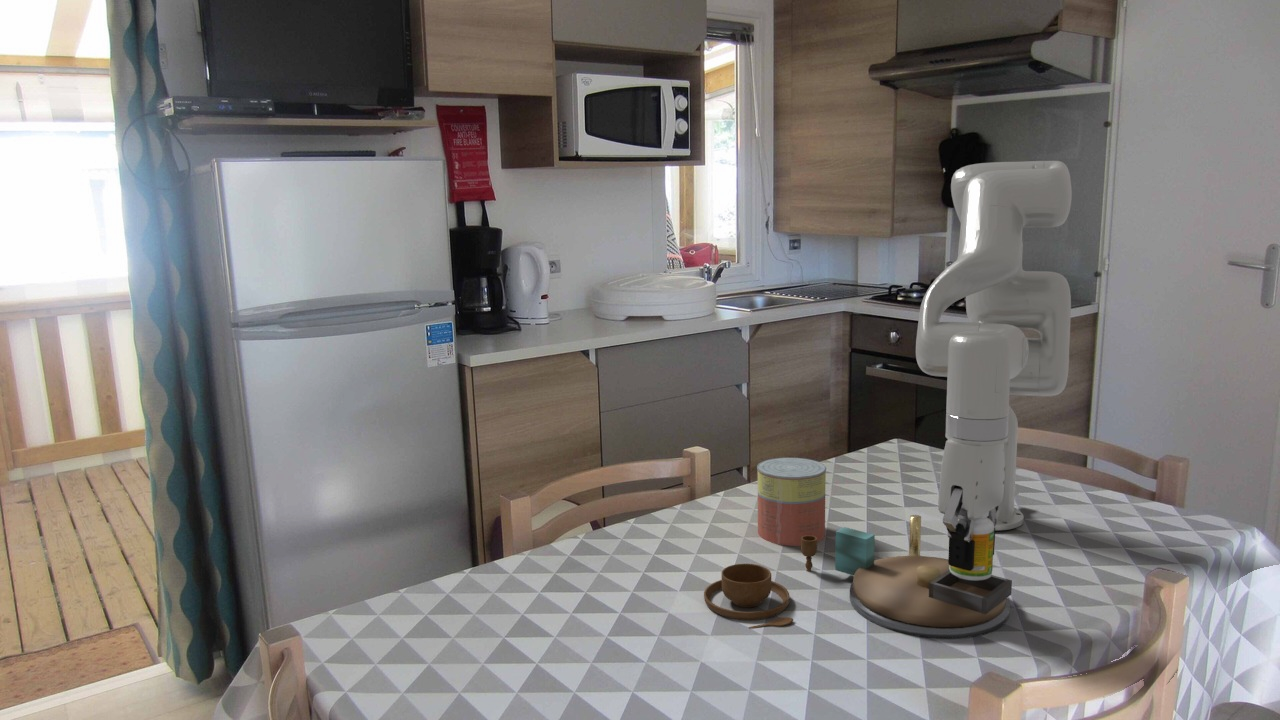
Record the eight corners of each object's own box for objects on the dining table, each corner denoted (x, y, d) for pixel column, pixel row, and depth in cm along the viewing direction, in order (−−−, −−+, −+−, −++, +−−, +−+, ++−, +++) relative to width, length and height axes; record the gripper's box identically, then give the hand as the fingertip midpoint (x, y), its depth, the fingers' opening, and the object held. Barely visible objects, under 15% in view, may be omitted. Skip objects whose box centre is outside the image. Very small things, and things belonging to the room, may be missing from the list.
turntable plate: (1029, 590, 126) (1031, 549, 125) (964, 642, 112) (966, 596, 111) (874, 548, 142) (875, 511, 141) (801, 588, 128) (801, 548, 127)
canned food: (817, 523, 158) (817, 456, 156) (832, 547, 147) (833, 475, 145) (752, 525, 158) (752, 458, 156) (763, 549, 147) (762, 478, 145)
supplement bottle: (995, 582, 118) (998, 510, 116) (951, 580, 119) (954, 509, 117) (988, 566, 123) (991, 497, 121) (946, 564, 124) (948, 495, 122)
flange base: (897, 560, 141) (898, 510, 139) (1035, 598, 126) (1038, 543, 125) (820, 605, 126) (820, 550, 124) (966, 655, 111) (969, 593, 110)
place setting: (687, 585, 135) (686, 547, 134) (811, 569, 140) (812, 532, 139) (726, 638, 118) (726, 596, 117) (866, 618, 123) (867, 577, 122)
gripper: (977, 411, 126) (972, 536, 129) (917, 435, 114) (913, 572, 117) (1032, 419, 121) (1025, 549, 124) (975, 445, 109) (970, 588, 112)
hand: (971, 559), depth 120 cm, fingers closed on supplement bottle, 5 cm apart
